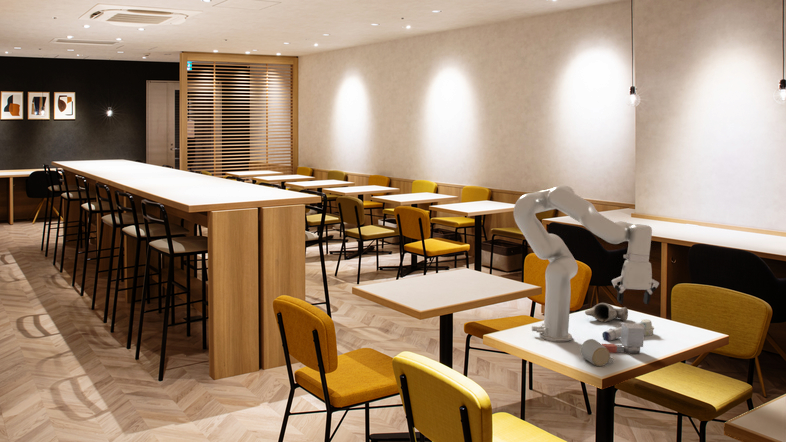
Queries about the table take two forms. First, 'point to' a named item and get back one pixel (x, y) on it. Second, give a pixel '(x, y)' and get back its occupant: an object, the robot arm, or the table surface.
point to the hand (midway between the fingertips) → (633, 303)
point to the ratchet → (622, 349)
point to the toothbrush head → (616, 332)
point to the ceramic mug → (595, 353)
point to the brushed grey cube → (632, 335)
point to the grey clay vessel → (607, 312)
